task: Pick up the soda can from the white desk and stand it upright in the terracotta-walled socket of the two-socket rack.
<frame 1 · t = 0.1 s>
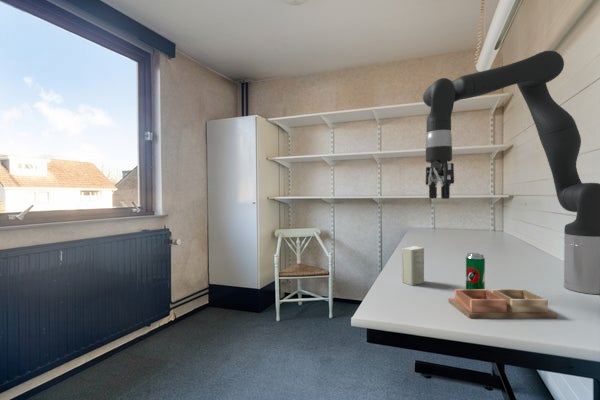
hand: (438, 198, 95), 29 cm above the table, tool pointing down, fingers open, 8 cm apart
soda can: (475, 293, 93), on the table
can rack: (498, 309, 80), on the table
skincare box: (413, 283, 104), on the table
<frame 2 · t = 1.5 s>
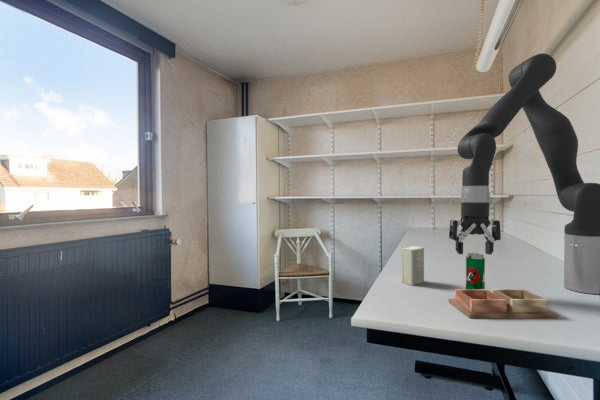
hand: (474, 254, 93), 12 cm above the table, tool pointing down, fingers open, 8 cm apart
nothing on the table moved.
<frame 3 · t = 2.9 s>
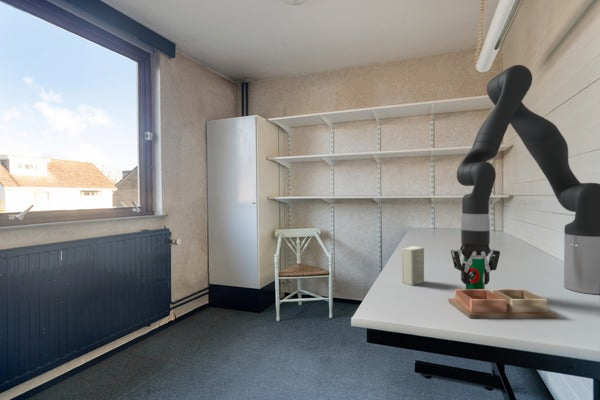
hand: (475, 283, 93), 3 cm above the table, tool pointing down, fingers closed on soda can, 5 cm apart
soda can: (475, 293, 93), on the table, touching gripper
everything else where it was.
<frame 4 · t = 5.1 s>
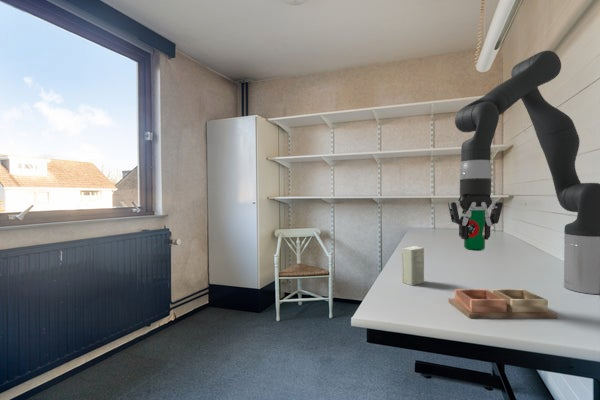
hand: (474, 238, 84), 18 cm above the table, tool pointing down, fingers closed on soda can, 5 cm apart
soda can: (474, 250, 84), point 15 cm above the table, touching gripper
everything else where it was.
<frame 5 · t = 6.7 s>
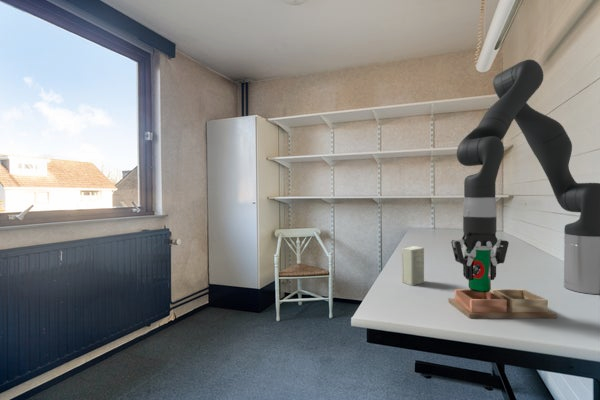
hand: (479, 279, 80), 8 cm above the table, tool pointing down, fingers closed on soda can, 5 cm apart
soda can: (479, 290, 80), point 5 cm above the table, touching gripper
everything else where it was.
when the fingers open (5 cm above the table, at t = 7.7 s): soda can drops 1 cm, resting on can rack.
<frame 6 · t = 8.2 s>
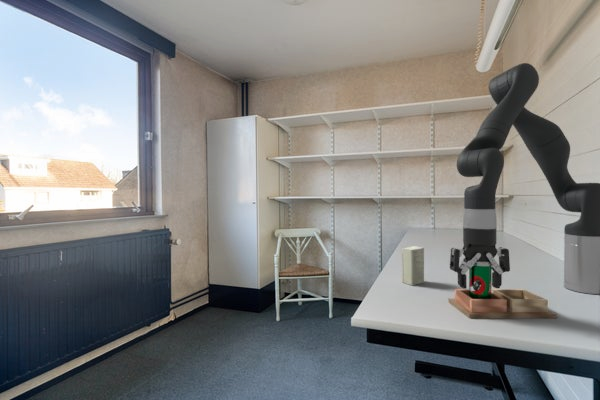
hand: (479, 287, 80), 6 cm above the table, tool pointing down, fingers open, 8 cm apart
soda can: (480, 306, 80), point 1 cm above the table, touching can rack
everything else where it was.
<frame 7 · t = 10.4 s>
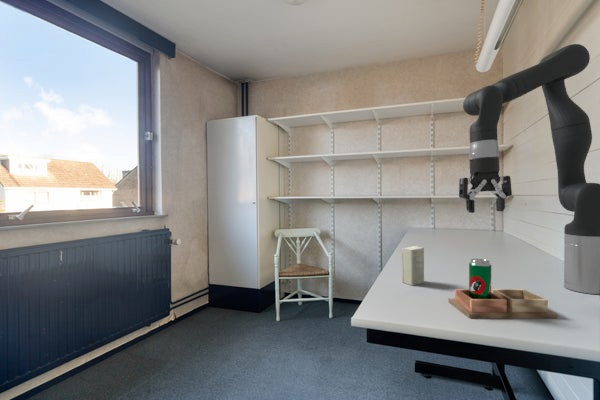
hand: (485, 211, 90), 25 cm above the table, tool pointing down, fingers open, 8 cm apart
nothing on the table moved.
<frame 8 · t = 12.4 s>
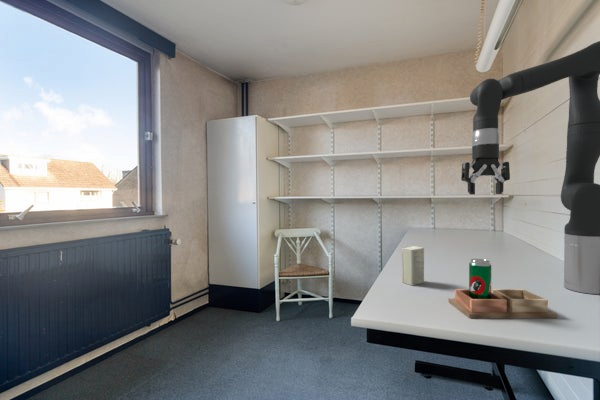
hand: (485, 194, 99), 30 cm above the table, tool pointing down, fingers open, 8 cm apart
nothing on the table moved.
at the end: soda can 0.2 cm from the target spot on the can rack, point 0.8 cm above the can rack's base; soda can tilted 0°; soda can touching can rack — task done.
